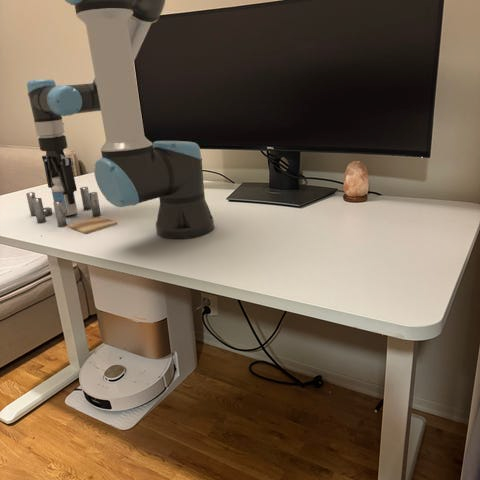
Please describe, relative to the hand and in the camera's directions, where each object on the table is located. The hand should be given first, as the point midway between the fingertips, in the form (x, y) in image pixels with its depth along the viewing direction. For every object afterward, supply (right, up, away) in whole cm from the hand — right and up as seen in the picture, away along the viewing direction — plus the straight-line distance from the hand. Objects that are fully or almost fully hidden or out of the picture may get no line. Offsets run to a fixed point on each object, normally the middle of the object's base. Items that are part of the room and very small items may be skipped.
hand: (67, 212), depth 142 cm
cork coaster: (+11, -4, -11) cm, 17 cm away
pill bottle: (0, -1, 0) cm, 1 cm away
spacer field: (0, -1, 0) cm, 1 cm away
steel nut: (-7, -1, +2) cm, 8 cm away
